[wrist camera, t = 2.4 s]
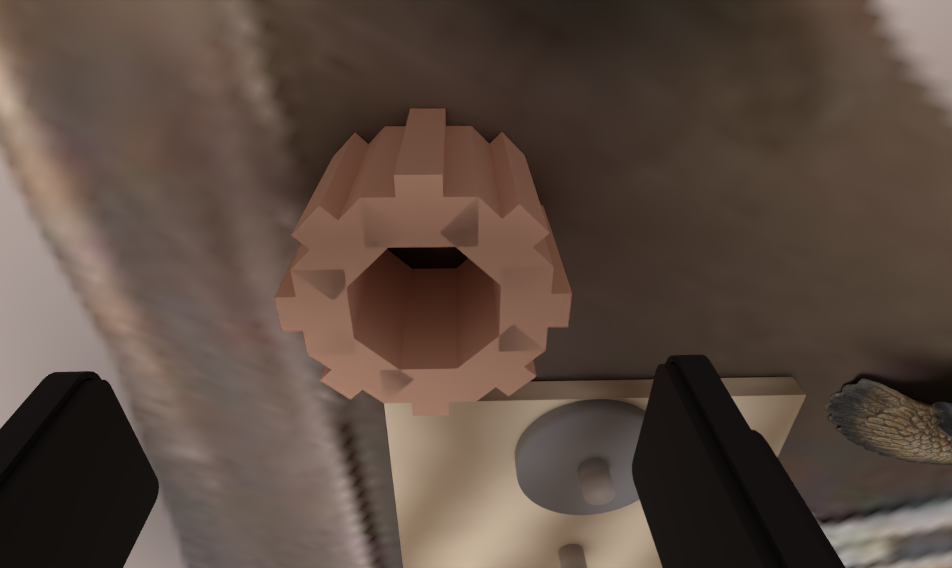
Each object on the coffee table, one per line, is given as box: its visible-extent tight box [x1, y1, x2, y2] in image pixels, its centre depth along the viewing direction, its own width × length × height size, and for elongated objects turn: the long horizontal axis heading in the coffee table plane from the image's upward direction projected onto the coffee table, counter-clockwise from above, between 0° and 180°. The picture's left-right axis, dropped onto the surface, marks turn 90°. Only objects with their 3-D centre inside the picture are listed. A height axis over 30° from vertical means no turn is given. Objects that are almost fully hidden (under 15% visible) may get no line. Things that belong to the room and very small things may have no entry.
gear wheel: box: [274, 108, 572, 416], centre depth 15 cm, size 7×7×5 cm
